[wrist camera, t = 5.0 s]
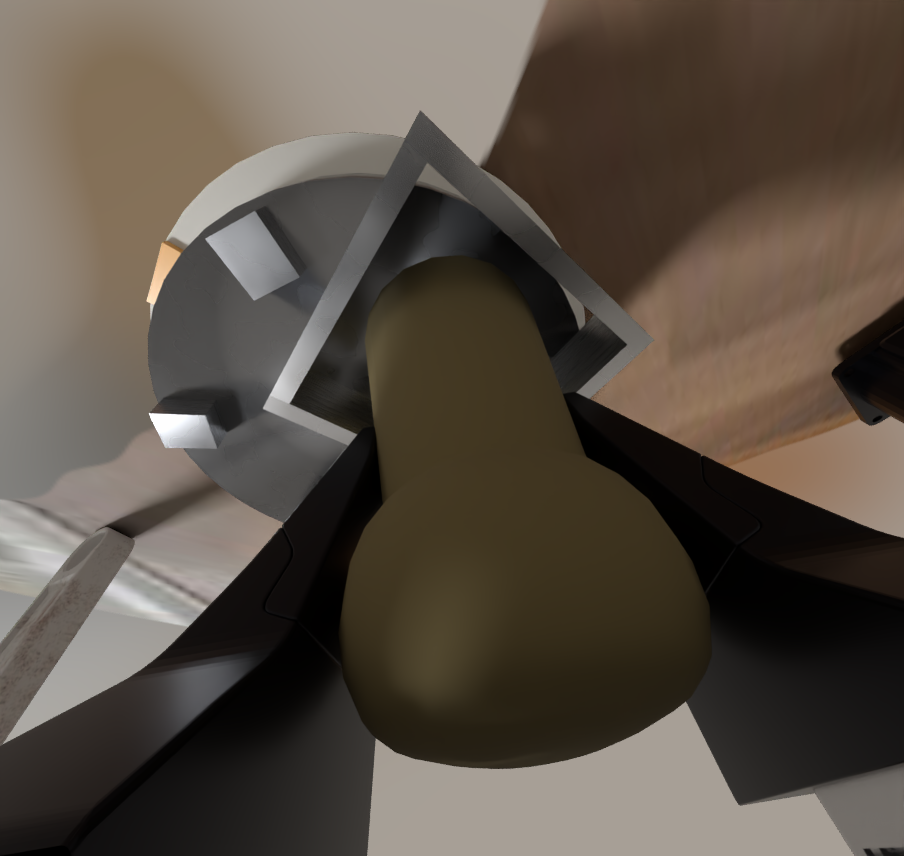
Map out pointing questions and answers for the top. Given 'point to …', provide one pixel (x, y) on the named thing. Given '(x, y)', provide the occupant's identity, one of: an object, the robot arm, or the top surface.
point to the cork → (503, 548)
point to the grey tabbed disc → (341, 313)
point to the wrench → (55, 621)
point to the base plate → (300, 165)
